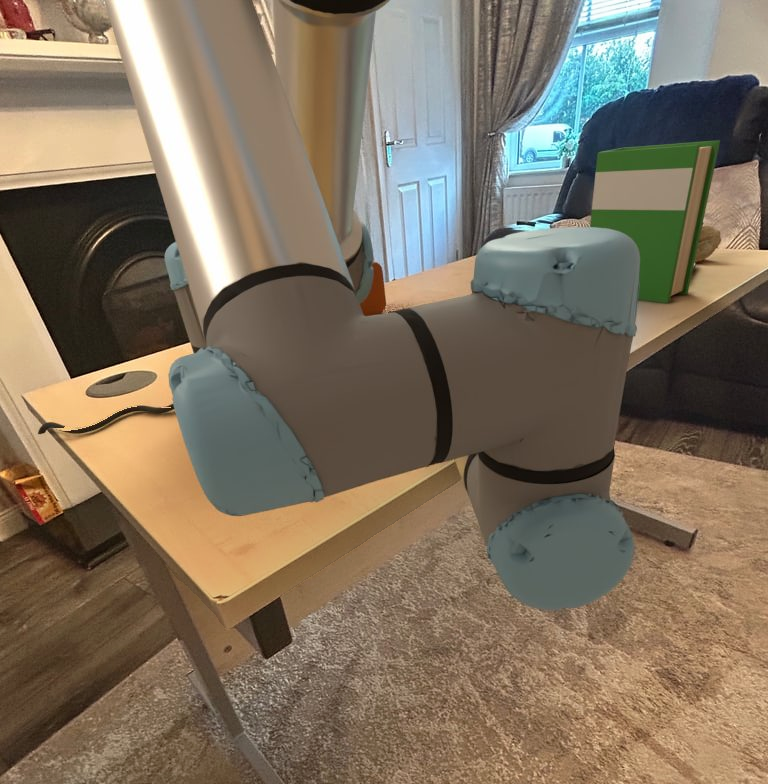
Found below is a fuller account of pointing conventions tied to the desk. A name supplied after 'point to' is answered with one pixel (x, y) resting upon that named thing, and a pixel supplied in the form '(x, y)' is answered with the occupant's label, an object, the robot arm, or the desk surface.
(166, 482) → the desk surface
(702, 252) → the fossil
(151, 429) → the desk surface
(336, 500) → the desk surface
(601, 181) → the hardback book
